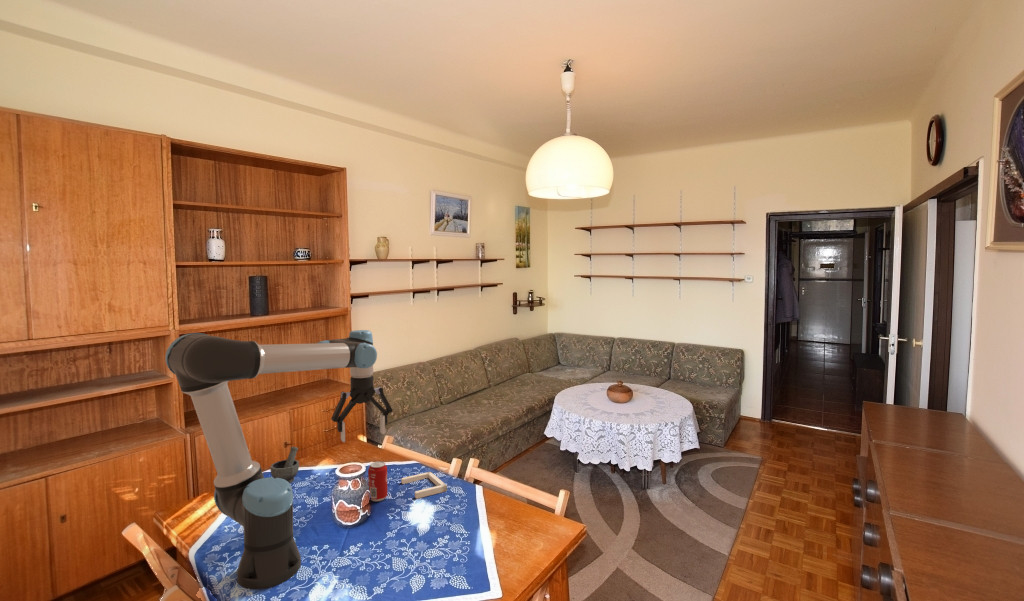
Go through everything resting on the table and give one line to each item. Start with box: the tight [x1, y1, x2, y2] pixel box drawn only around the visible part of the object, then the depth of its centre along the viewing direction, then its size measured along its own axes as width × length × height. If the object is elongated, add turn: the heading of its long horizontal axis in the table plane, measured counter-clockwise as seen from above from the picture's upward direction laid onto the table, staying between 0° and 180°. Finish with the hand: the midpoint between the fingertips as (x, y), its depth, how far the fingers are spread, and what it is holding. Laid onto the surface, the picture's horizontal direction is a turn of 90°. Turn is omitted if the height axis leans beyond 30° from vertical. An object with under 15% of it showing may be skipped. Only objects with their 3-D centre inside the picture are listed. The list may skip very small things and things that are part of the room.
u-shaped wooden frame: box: [400, 471, 448, 500], centre depth 176 cm, size 15×12×2 cm
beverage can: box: [367, 461, 388, 502], centre depth 167 cm, size 6×6×12 cm
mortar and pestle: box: [269, 446, 300, 484], centre depth 181 cm, size 11×9×12 cm
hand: (363, 437), depth 166 cm, fingers open, 13 cm apart
